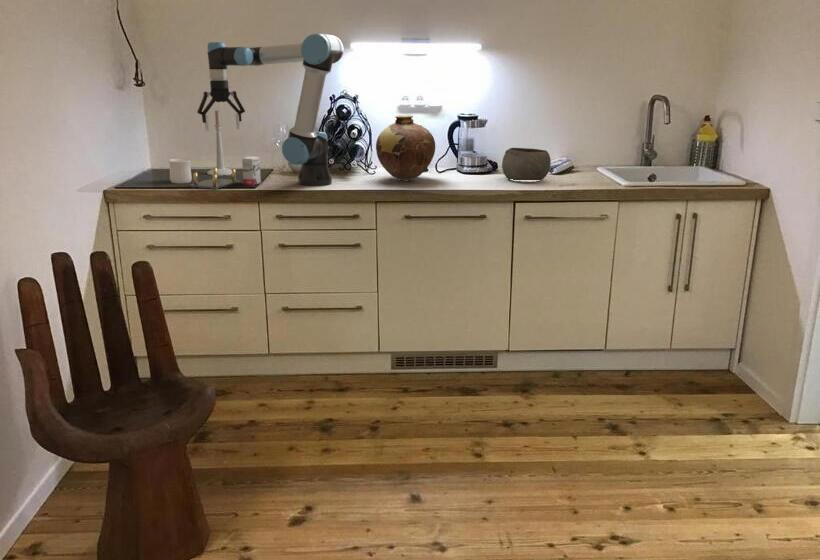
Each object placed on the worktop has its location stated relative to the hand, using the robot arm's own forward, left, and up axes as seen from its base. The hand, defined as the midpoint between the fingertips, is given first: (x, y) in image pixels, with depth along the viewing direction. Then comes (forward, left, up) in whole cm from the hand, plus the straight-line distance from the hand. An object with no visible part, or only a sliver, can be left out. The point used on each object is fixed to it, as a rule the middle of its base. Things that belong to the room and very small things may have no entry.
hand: (222, 129), depth 306 cm
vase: (-73, -38, -23) cm, 85 cm away
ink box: (-14, 0, -23) cm, 27 cm away
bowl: (-125, -64, -23) cm, 142 cm away
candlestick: (+14, -18, -23) cm, 32 cm away
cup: (+17, +9, -23) cm, 30 cm away
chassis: (-1, +9, -23) cm, 25 cm away
